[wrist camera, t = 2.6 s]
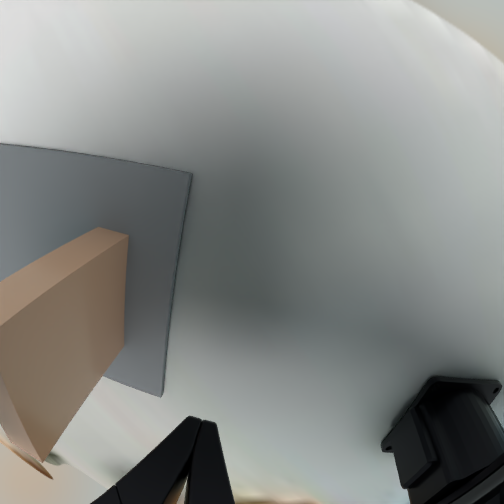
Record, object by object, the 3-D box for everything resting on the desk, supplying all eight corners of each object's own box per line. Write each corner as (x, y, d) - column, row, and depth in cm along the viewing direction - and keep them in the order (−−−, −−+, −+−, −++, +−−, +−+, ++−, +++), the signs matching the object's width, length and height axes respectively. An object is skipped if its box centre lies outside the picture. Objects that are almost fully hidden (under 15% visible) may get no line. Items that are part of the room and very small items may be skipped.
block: (129, 235, 12) (-12, 335, 5) (124, 345, 14) (42, 462, 7) (95, 225, 12) (-47, 308, 5) (95, 334, 15) (8, 440, 7)
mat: (192, 173, 12) (189, 174, 11) (163, 393, 16) (161, 397, 15) (-18, 142, 12) (-23, 142, 12) (-7, 314, 16) (-10, 317, 16)
